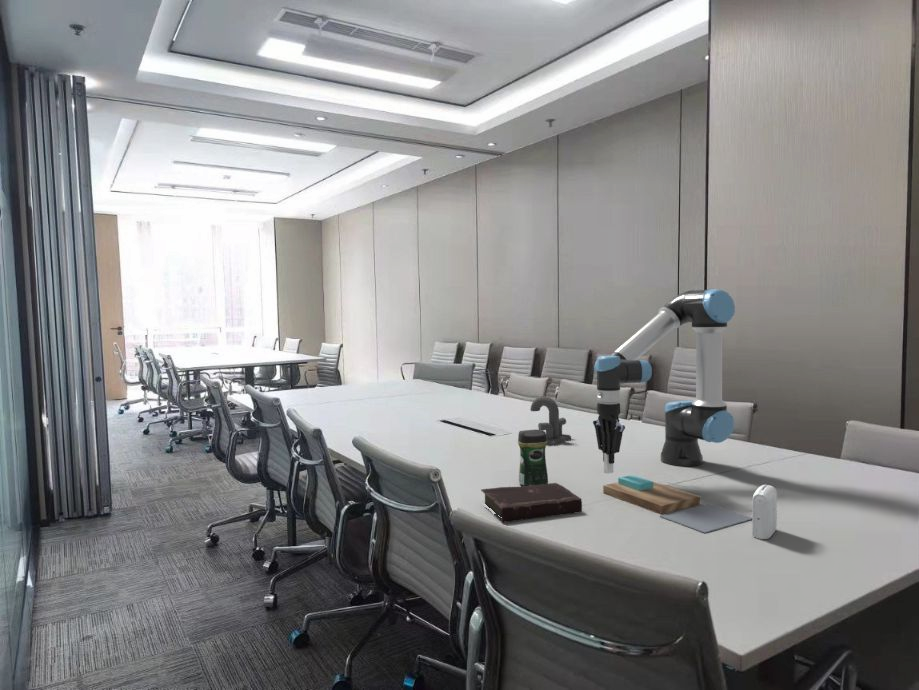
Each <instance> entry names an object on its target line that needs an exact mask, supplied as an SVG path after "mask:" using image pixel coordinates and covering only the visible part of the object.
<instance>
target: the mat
mask: <svg viewBox="0 0 919 690" xmlns="http://www.w3.org/2000/svg"><path fill="white" fill-rule="evenodd" d="M659 517H660V518H661V517H662V519H664V518H665V519H664V520H668V521H669V522H672V521H673V522H672V523H675V524H677V525H680V524H681V525H680V526H683V527H686V528H687V529H688V528H689V529H691V530H693V531H697V532H699V533H701V534H707V533H712V532H715V531H717V530H721V529H725V528H728V526H729V527H732V526H735V525H739V524H741V522H742V523H746V522H749V521H752V520H751V519H752V517H753V516H752V517H751V516H748V515H745V514H742V513H740V512H739V513H738V512H735V511H733V510H730V509H727V508H723V507H720V506H717V505H713V504H710V503H704V504H700V505H697V506H693V507H689V508H685V509H682V510H678V511H674V512H670V513H666V514H660V515H659ZM748 520H749V521H748ZM745 521H746V522H745ZM738 523H739V524H738ZM731 525H732V526H731Z"/></svg>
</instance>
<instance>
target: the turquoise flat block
mask: <svg viewBox="0 0 919 690" xmlns="http://www.w3.org/2000/svg"><path fill="white" fill-rule="evenodd" d="M617 480H618V484H620V485H623V486H626V487H629V488H632V489H635V490H638V491H642V490H646V489H651V488H653V482H654V481H652V480H650V479H646V478H642V477H640V476H637V475H633V474H630V475H627V476H621V477H618V478H617Z"/></svg>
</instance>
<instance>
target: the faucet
mask: <svg viewBox="0 0 919 690" xmlns="http://www.w3.org/2000/svg"><path fill="white" fill-rule="evenodd" d="M542 407H545V408H547V410H548V422H538V424H537V427H538V430H540V429H541V430H543V431H545V433H546V438H547V445H546V446H551V445H555V446H556V444H557V445H559V444H562V443H564V442H566V441H565V440H567V441H568V439H569V440H571V439H572V436H571V435H570V434H566V433H563V426H564V425H566V424H567V419H566V418H565V417H560V410H559V407H558V404H557V402H556V401H555V400H554V399H553V398H551V397H549V396H547V395H545V396H538V397H536V398H534V400H533V401H532V403H531V405H530V408H529V409H530V411H531V412H540V411H541V408H542ZM570 438H571V439H570ZM563 441H564V442H563ZM561 442H562V443H561ZM558 443H559V444H558Z"/></svg>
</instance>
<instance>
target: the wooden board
mask: <svg viewBox="0 0 919 690" xmlns="http://www.w3.org/2000/svg"><path fill="white" fill-rule="evenodd" d="M602 488H603V489H602V491H603V492H602V493H603V494H605V495H608V496H610V497H613V498H616V499H619V500H622V501H624V502H628V503H629V504H632V505H635V506H637V507H641V508H643V509H646V510H648V509H649V510H648V511H651V512H654V513H656V512H657V514H660V515H665V514H668V513H669V512H670V513H672V512H673V511H674V512H676V511H677V510H678V511H680V510H681V509H682V510H684V509H688V508H692V507H696V506H700V505H701V495H697V494H693V493H691V492H687V491H684V490H681V489H679V488H678V489H677V488H674V487H670V486H668V485H665V484H661V483H658V482H656V481H655V482H654V481H653V488H651V489H646V490H642V491H638V490H635V489H632V488H629V487H626V486H623V485H620V484H618V482H613V483H608V484H604V485H603V487H602Z"/></svg>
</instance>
